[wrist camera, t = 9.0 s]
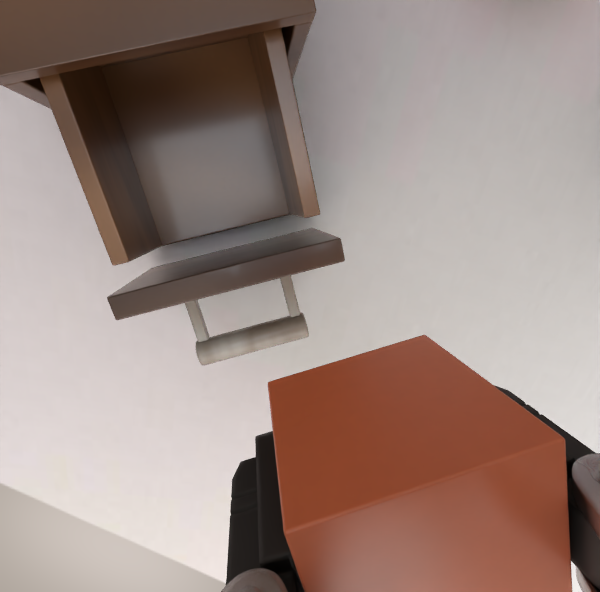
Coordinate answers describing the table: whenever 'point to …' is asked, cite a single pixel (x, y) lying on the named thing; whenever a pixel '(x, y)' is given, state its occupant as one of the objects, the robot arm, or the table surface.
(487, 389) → the block
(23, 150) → the table surface
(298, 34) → the cabinet
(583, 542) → the robot arm
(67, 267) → the table surface
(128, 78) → the drawer
